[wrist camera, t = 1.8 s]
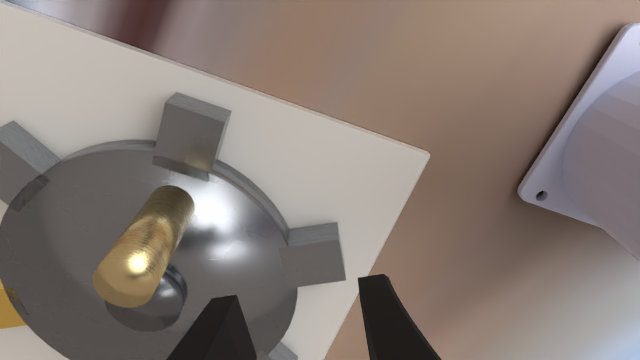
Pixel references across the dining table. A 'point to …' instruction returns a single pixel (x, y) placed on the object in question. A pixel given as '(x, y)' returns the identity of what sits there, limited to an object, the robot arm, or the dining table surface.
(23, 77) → the base plate
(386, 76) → the dining table surface
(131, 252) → the sprocket
